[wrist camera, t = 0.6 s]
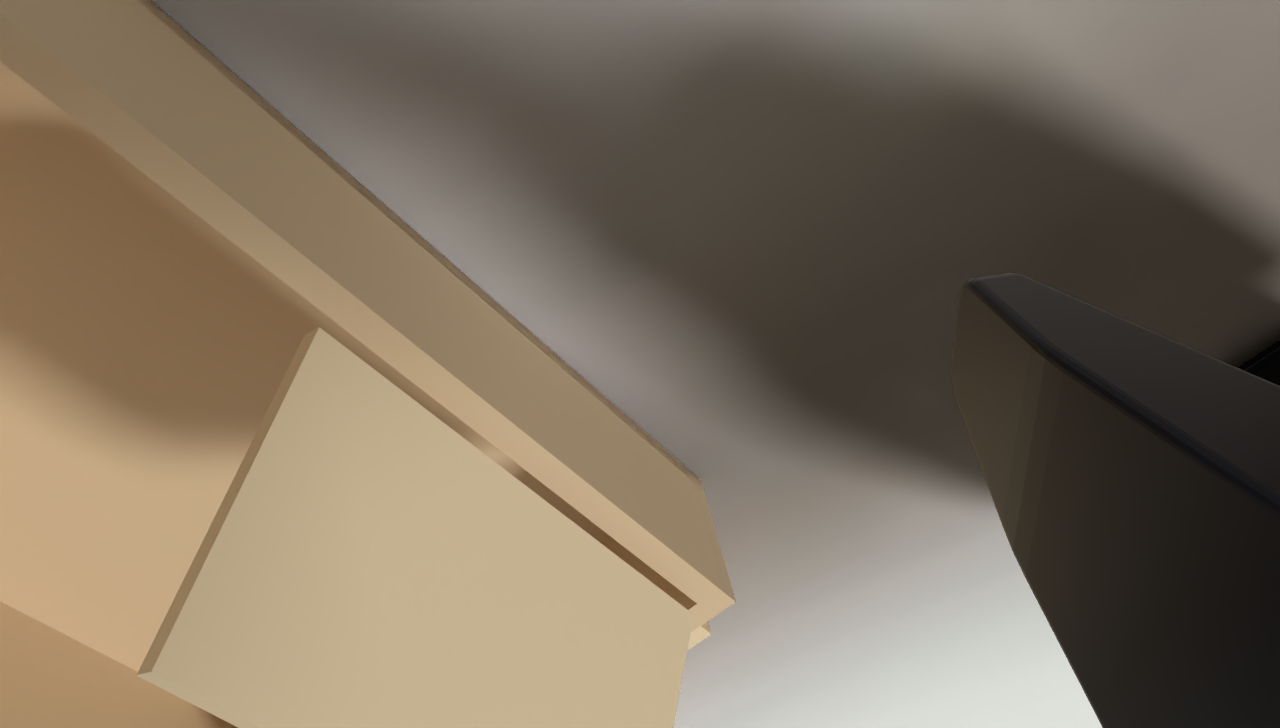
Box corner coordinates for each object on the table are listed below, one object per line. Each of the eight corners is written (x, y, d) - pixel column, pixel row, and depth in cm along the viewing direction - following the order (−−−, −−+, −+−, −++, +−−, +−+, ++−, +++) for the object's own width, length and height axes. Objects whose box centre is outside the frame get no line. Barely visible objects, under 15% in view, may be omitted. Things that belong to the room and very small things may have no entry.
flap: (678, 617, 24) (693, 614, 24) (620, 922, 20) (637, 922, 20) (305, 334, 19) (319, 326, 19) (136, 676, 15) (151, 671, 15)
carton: (712, 489, 28) (748, 612, 25) (306, 777, 32) (293, 914, 29) (28, -106, 19) (-57, -34, 15) (-429, 408, 23) (-573, 552, 19)
